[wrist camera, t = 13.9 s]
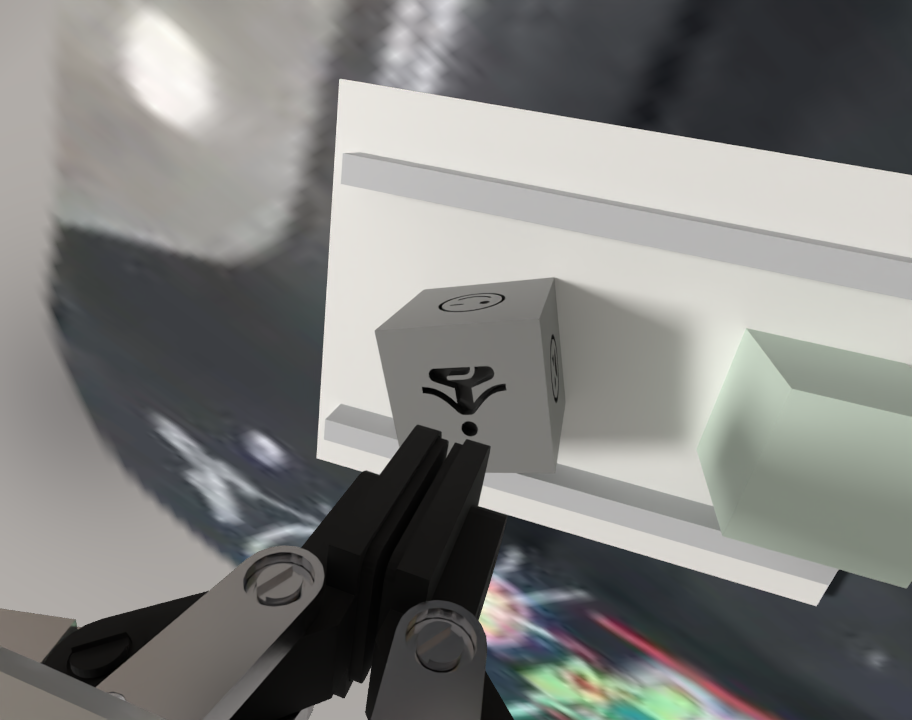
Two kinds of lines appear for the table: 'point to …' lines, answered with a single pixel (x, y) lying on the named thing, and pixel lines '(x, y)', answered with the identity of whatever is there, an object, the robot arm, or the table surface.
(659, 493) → the rail board
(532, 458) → the dice cube
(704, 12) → the table surface
